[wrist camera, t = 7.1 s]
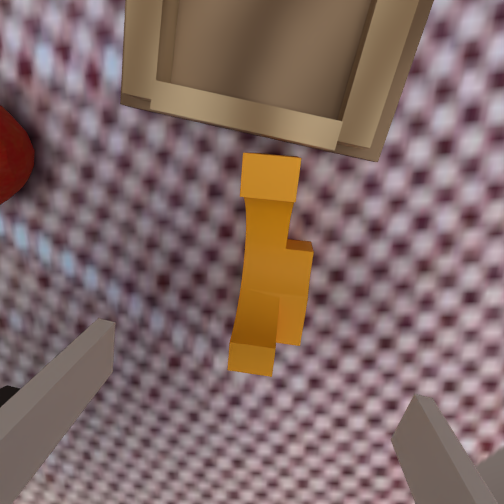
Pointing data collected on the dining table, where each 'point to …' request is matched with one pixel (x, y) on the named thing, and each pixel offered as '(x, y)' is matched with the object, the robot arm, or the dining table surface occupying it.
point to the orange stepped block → (269, 266)
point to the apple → (13, 156)
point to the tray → (275, 66)
